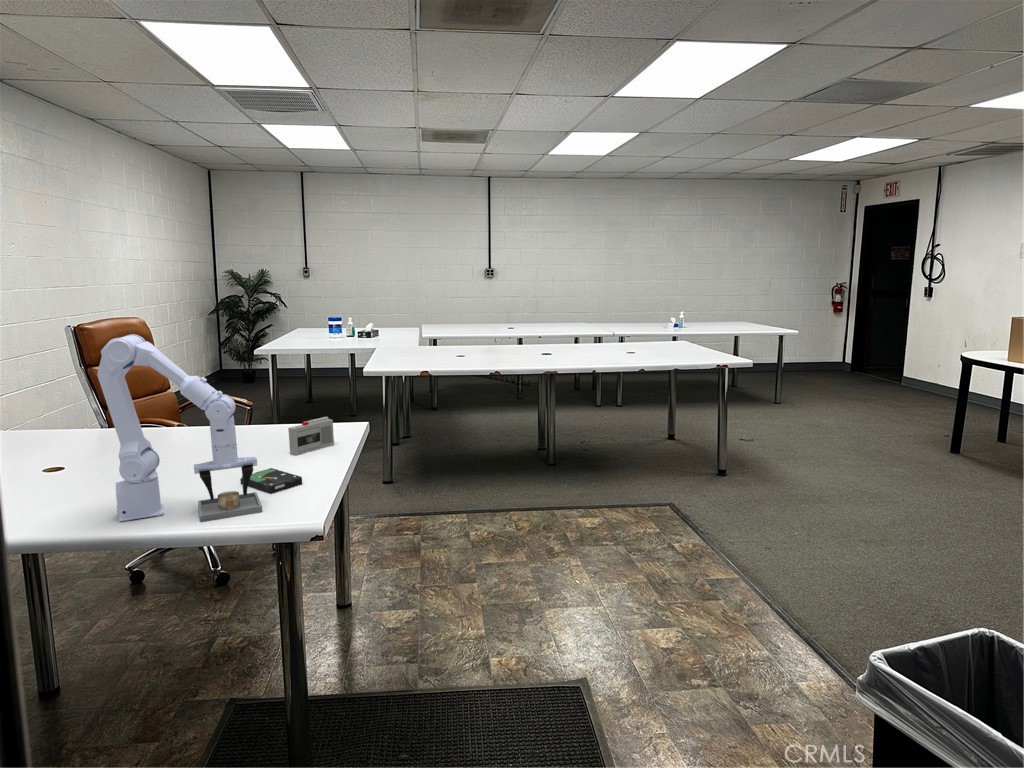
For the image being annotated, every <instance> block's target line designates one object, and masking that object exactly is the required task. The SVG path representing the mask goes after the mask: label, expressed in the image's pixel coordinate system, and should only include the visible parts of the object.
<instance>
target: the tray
mask: <svg viewBox="0 0 1024 768" xmlns="http://www.w3.org/2000/svg"><path fill="white" fill-rule="evenodd" d="M239 499H240V505H239V506H238V507H235V508H234V510H229V511H227V509H220V508H219V506H218V497H214V500H211V499H210V498H208V499H202V500H201V499H200V500H198V502H197V504H198V510H199V511H198V512H199V519H200V520H199V521H200V523H202V522H209V521H210V522H211V521H215V520H222V519H228V518H233V517H240V516H246V515H253V514H257V513H258V514H259V513H262V512H263V506H262V502H261V500H260V497H259V495H258V492H257V491H254V492H247V495H244V494H243V493H241V494H240V493H239Z"/></svg>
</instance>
